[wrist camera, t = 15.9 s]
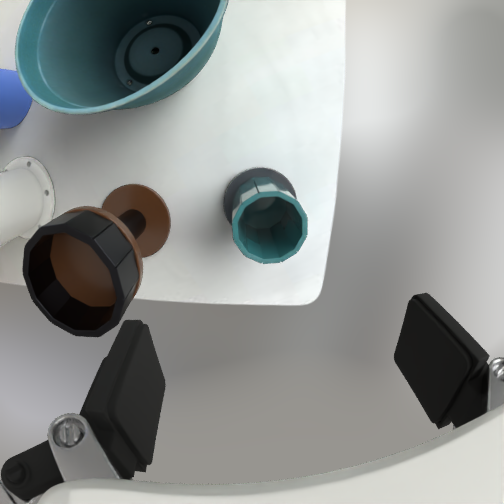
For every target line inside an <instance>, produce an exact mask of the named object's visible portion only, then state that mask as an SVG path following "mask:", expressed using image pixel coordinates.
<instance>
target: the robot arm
mask: <svg viewBox="0 0 504 504" xmlns="http://www.w3.org/2000/svg"><path fill="white" fill-rule="evenodd" d="M54 206H55V196H54V189H53V185H52V181H51V179H50V176H49V174H48V172H47V171H46V169H45V167H44V166H43V165H42V164H41V163H40V162H39V161H37V160H36V159H34V158H31V157H19V158H16V159H14V160H12V161H11V162H10V163H9V164H8V165H7V166H6V167H5V169H4V170H3V172H2V173H0V247H1V246H3V245H4V244H6V243H8V242H9V241H11V240H12V239H14V238H16V237H17V236H19V237H21V238H25V239H30V238H31V237H32V236H33V235H34V233H35V232H36V231H37V230H38V228H40V227H41V226H43V225H45V224H47V223H48V222H50V221H51V220H52V216H53V213H54ZM488 358H489V355H488V354H487V352H486V351H485V350H484V349H483V348H482V347H481V346H480V345H479V344H478V343H477V342H476V340H474V338H473V337H472V336H471V335H470V334H469V333H468V332H467V331H466V330H465V329H464V328H463V327H462V326H461V325H460V324H459V323H458V322H457V321H456V320H455V319H454V318H453V317H452V316H451V315H450V314H449V313H448V312H447V311H446V310H445V309H444V308H443V307H442V306H441V305H440V304H439V303H438V302H437V301H436V300H435V299H434V298H433V297H431V296H430V295H429V294H428V293H424V294H417V295H414V296H413V297H412V299H411V300H409V303H408V306H407V310H406V314H405V318H404V322H403V325H402V329H401V333H400V336H399V340H398V343H397V346H396V350H395V353H394V360H395V363H396V364H397V366H398V367H399V369H400V371H401V372H402V374H403V375H404V377H405V379H406V380H407V382H408V384H409V385H410V387H411V388H412V390H413V392H414V393H415V395H416V397H417V398H418V400H419V402H420V403H421V405H422V407H423V408H424V410H425V412H426V414H427V415H428V417H429V419H430V420H431V422H432V423H435V424H436V426H437V427H438V429H440V428H442V427H444V426H447V425H449V424H450V423H451V421H452V423H453V424H454V425H453V430H452V431H450V432H448V433H446V434H443V435H441V436H439V437H437V438H434V439H432V440H430V441H427V442H425V443H422V444H420V445H417V446H415V447H412V448H409V449H407V450H404V451H401V452H399V453H395V454H393V455H390V456H387V457H383V458H380V459H377V460H374V461H370V462H367V463H363V464H360V465H356V466H352V467H349V468H344V469H340V470H336V471H332V472H326V473H321V474H316V475H311V476H305V477H298V478H292V479H285V480H277V481H267V482H256V483H243V484H174V483H160V482H147V481H135V480H133V479H132V477H134V472H135V471H140V472H146V467H147V465H150V464H151V463H152V458H153V453H154V446H155V440H156V435H157V429H158V423H159V418H160V412H161V407H162V402H163V397H164V391H165V379H164V376H163V373H162V370H161V367H160V363H159V361H158V357H157V354H156V351H155V348H154V345H153V341H152V338H151V334H150V331H149V327H148V325H147V324H143V322H142V321H141V320H125V321H124V322H123V324H122V326H121V328H120V330H119V333H118V335H117V337H116V339H115V341H114V343H113V345H112V347H111V350H110V351H109V354H108V356H107V357H105V358H104V359H103V361H102V363H101V365H100V368H99V370H98V372H97V374H96V376H95V379H94V381H93V383H92V385H91V388H90V390H89V392H88V395H87V397H86V400H85V402H84V404H83V407H82V409H81V412H80V414H79V415H78V414H75V413H67V414H64V415H61V416H59V417H57V418H56V419H55V420H54V421H53V422H52V423H51V424H50V426H49V428H48V433H47V436H48V440H47V441H45V442H43V443H41V444H39V445H37V446H35V447H33V448H30V449H29V450H27V451H25V452H22V453H20V454H18V455H16V456H13V457H12V458H10V459H8V460H7V461H6V462H5V464H4V465H3V468H2V470H1V478H2V479H1V480H0V504H504V358H500V357H499V358H495V359H493V360H492V361H491V362H490V364H489V365H488V364H487V360H488Z"/></svg>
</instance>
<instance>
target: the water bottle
mask: <svg viewBox="0 0 504 504" xmlns="http://www.w3.org/2000/svg"><path fill="white" fill-rule="evenodd" d="M31 102H32V98H31V96H30V95H29V94H28V93H27V92H26V90H25V89H24V87H23V86H22V83H21V81H20V79H19V76H18V73H17V71H12V70H6V69H0V129H4V128H12V127H15V126H16V125H18V124H19V123H20V122H21V121H22V120H23V119H24V117H25V116H26V114H27V113H28V110H29V108H30V105H31Z"/></svg>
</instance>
